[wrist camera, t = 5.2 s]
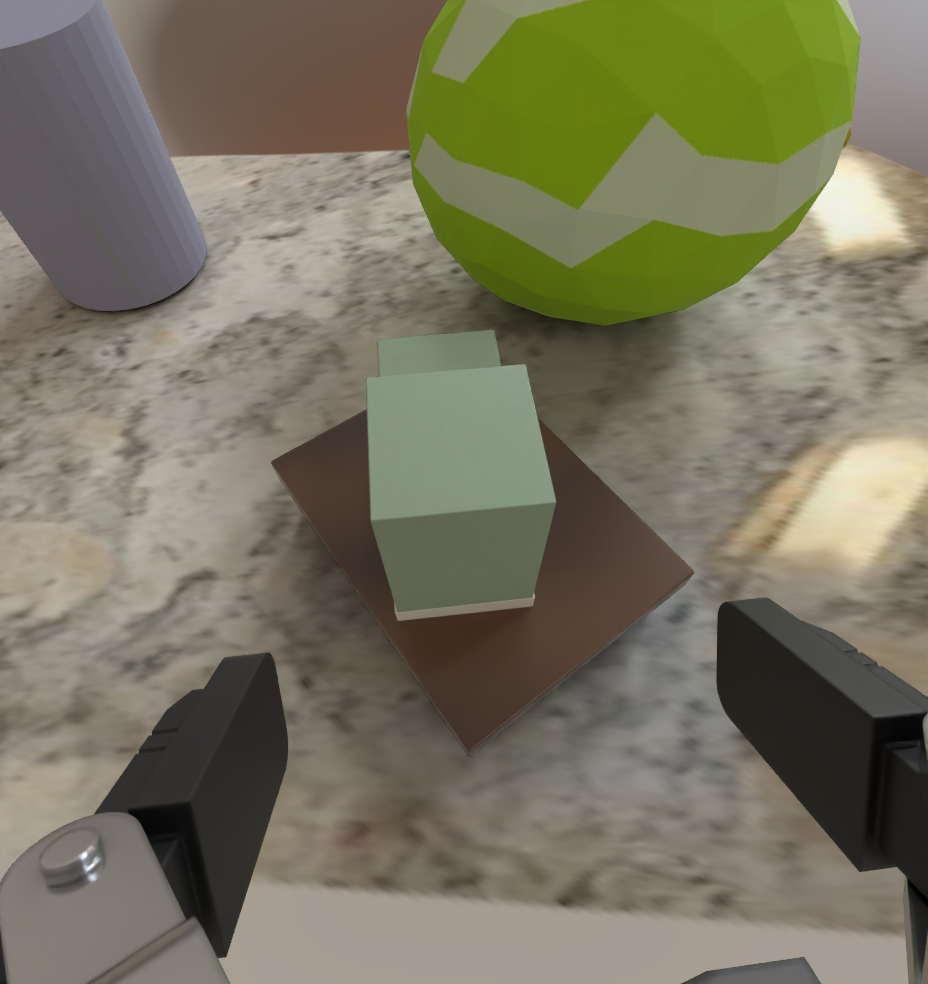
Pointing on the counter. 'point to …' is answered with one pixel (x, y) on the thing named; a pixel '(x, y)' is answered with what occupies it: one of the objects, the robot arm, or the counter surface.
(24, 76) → the container
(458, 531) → the sage green stepped block
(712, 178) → the melon
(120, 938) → the robot arm
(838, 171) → the counter surface
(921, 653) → the counter surface
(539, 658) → the shoe shelf
